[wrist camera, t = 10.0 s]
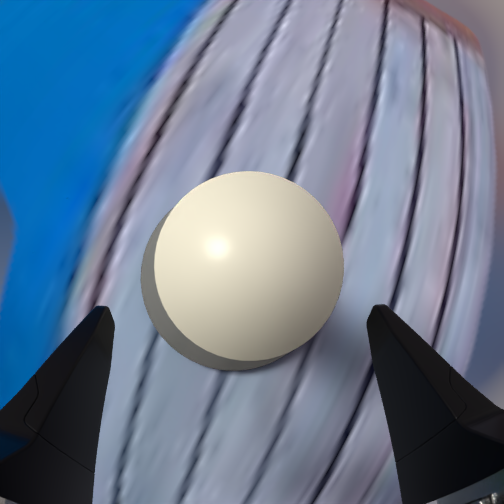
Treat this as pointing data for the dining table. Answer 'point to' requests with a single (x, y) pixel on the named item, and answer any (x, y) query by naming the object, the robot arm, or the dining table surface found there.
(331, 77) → the dining table surface
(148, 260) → the holder
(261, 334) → the candle
